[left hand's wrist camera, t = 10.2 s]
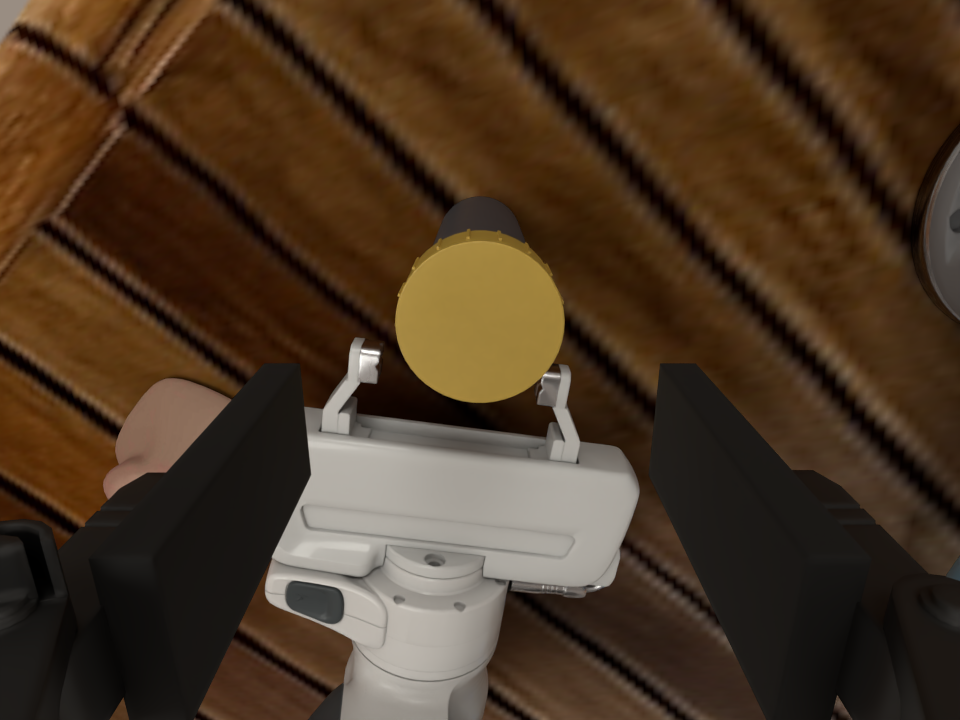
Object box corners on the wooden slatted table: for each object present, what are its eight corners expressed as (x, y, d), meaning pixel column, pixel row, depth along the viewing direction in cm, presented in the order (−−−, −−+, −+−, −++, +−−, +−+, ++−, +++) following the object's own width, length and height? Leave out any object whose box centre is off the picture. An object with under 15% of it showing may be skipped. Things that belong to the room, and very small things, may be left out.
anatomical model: (84, 389, 35) (291, 435, 36) (122, 364, 39) (308, 407, 40) (76, 580, 40) (260, 616, 41) (111, 541, 44) (278, 575, 44)
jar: (530, 263, 37) (567, 364, 22) (454, 288, 38) (436, 403, 22) (506, 185, 36) (527, 231, 20) (427, 211, 36) (388, 277, 21)
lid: (577, 355, 23) (586, 377, 21) (432, 399, 24) (428, 425, 22) (533, 206, 22) (538, 215, 19) (377, 258, 22) (367, 272, 20)
